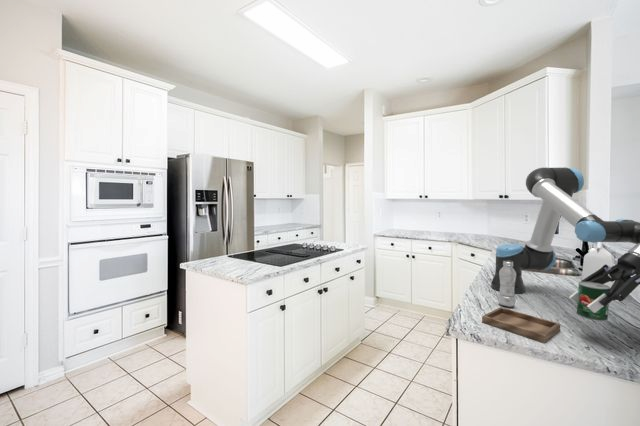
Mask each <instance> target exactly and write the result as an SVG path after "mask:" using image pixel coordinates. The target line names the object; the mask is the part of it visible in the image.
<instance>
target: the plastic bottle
mask: <svg viewBox="0 0 640 426" xmlns="http://www.w3.org/2000/svg"><path fill="white" fill-rule="evenodd" d="M503 265H504V266H503V267H502V268H501V269H500V271H499V277H500V291H498V292H499V293H498V296H497V300H498V303H499V304H500V305H501V306H503V307H506V308H507V307H509V308H513V307H515V305H516V295H515V293H514V286H515V280H516V272H515V270H514V269H513V267H512V266H513V262H512V261H503Z"/></svg>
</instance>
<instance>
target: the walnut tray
mask: <svg viewBox="0 0 640 426" xmlns="http://www.w3.org/2000/svg"><path fill="white" fill-rule="evenodd" d="M481 318H482V319H481V323H482V324H486V325H489V326H491V327H495V328H497V329H500V330H504V331H507V332H509V333H513V334H515V335H518V336H521V337H524V338H528V339H531V340H533V341H537V342H540V343H542V344H546V343H547V342H548V341H549V340H550V339H551V340H552V338H553V337H554V336H556V335H557V334H558V333H560V331H561V323H559V322H556V321H552V320H547V319H544V318H542V317H541V318H540V317H537V316H533V315H531V314H527V313H523V312H520V311H515V310H512V309H509V308H507V307H506V308H505V307H497V308H496V309H494V310H492V311H490V312H488V313H486V314H483V315H482V316H481Z"/></svg>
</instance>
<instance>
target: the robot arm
mask: <svg viewBox="0 0 640 426" xmlns="http://www.w3.org/2000/svg"><path fill="white" fill-rule="evenodd" d="M584 183H585V179H584V175H583V174H582V172H581V171H580V170H578V169H577V168H574V167H565V166H564V167H538V168H536V169H534V170H532V171H531V172H530V173H529V174H528V175H527V177H526V179H525V186H526V190H527V191H528V192H529V193H530V194H531V195H532V196H534V197H535V198H539V199H541V200H542V202H541V206H540V210H539V213H538V215H537V219H536V222H535V225H534V228H533V231H532V233H531V234H532V235H531V237H530V239H529V240H527V241H526V242H525V244H524V246H523V245H521V244H516V243H510V244H509V243H508V244H500V245H499V246H497V247H496V251H495V271H494V272H495V273H494V275H493V278H492V279H491V282H490V287H491V289H493V290H495V291H498V292H500V277H499V271H500V269H501V268H502V267H503V266H504V265H503V261H512V262H513V266H512V267H513V269H514V270H515V272H516V280H515V286H514V293H515V294H517V295H519V294H524V293H525V292H526V287H525V282H524V280H523V276H522V273H523V271H525V270H526V271H528V270H529V271H530V270H531V271H547V270H550V269H551V268H553V267H554V265H555V264H556V263H557V262H556V261H557V257H556V252H555V251H554V248H553V246H552V242H553V240H554V238H555V235H556V234H555V233H556V232H557V228H558V225H559V222H560V219H561V217H562V218H563V219H564V220H565V221H567V222H568V223H569V224H571V225H572V226H573V227H574V234H575V235H576V238H577V239H578V240H580V241H581V242H586V243H598V242H603V243H632V244H635V245H634V246H632V247H631V248H630V249H628V250H627V252H625V253H623V254H622V255H621V256H620V257H619V258H617V260H616V261H617V262H616V263H617V264H614V266H612V267H608V266H607V265H604V266H603V267H602V268H601V269H599V270H598V271H596V272H594V273H593V274H591V275H590V276H588V277H587V278H585V279H583V280H582V279H581V281H580V282H594V283H600V284H605V283H607V282H609V281H611V282H613V281H614V283H613V285H612V286H611V288H610V290H609V291H608V292H605V293H606V294H607V295H606V294H604V293H603V294H602V295H601V296H599V297H598V298H597V299H596V300H594V301H593V302H592V303H590V304H589V305H588V306H587V307H588V308H589V309H590V310H591V311H592V312H593V313H595V312H597V311H598V310H599V309H601V308H602V307H603V306H606V305H607V304H609V305H610V303H612V302H614V301H619V302H622V301H624V300H625V299H626V298H627V297H628V296H629V295H630V294H631V293H632V292H633V291H634V290H635V289H636V288H637V287H639V285H640V221H636V220H632V219H625V218H619V219H616V220H614V221H612V220H610V221H609V220H608V221H607V220H603V219H602V218H601V217H599V216H598V215H596V214H595V213H593V212H592V211H591V210H590V209H588V208H587V207H586V206H584V205H583V204H581V203H580V202H579V201H577V200H576V199H574V197H573V195H574V194H576V193H579V192H580V191H581V190H582V189H583V187H584ZM608 274H609V275H608ZM568 297H569V299H570V300H571V301H572V302H573V303H575V304H577V301H578V289H577V290H576V291H575V292H573V293H572V294H571V295H570V296H568Z"/></svg>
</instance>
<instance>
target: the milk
mask: <svg viewBox="0 0 640 426" xmlns="http://www.w3.org/2000/svg"><path fill="white" fill-rule="evenodd" d="M603 244H604V242H597V244H596V247H595V248H593V247H592V248H590V249H588V250H587V251H588V252H587V253H586V254H584V256H583V263H582V273H581V281H582V280H583V279H585V278H587V277H588V276H590V275H591V274H593V273H594V272H596V271H598V270H599V269H601V268H602V267H603V266H604V265H607V266H608V267H612V266H615V256H614V255H613V254H612V253H611V252H610V251H608V250H607V249H606V248H604V246H603ZM608 275H609V274H608ZM614 282H615V281H613V282H611V281H609V282H607V283H605V284H604V285H607V286H609V287H610V288H611V286H612V285H613V283H614Z"/></svg>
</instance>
